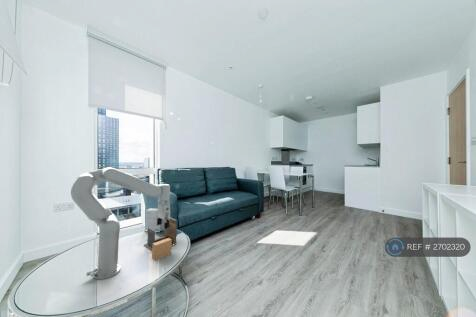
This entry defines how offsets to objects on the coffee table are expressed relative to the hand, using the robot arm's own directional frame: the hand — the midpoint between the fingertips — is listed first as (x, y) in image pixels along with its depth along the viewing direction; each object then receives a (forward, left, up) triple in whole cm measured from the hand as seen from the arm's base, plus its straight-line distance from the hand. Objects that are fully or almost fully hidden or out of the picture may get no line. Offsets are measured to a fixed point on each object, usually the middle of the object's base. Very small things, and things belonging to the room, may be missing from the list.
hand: (162, 226), depth 124 cm
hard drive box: (+18, +46, -21) cm, 53 cm away
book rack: (+7, +16, -20) cm, 27 cm away
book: (0, 0, -20) cm, 20 cm away
